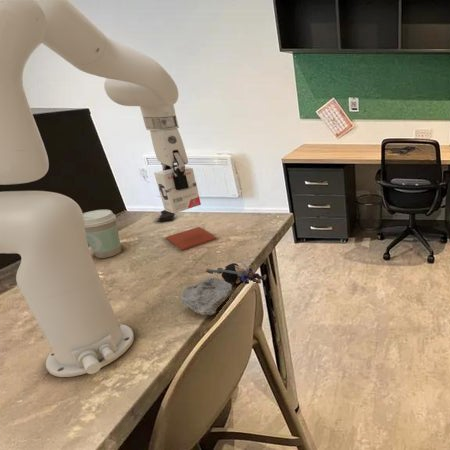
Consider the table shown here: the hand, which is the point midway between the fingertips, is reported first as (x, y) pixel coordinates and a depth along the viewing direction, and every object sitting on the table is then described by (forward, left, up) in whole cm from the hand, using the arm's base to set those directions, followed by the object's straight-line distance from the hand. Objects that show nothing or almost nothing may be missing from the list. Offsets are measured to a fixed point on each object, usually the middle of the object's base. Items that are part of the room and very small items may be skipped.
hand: (177, 186), depth 100 cm
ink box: (0, 0, -7) cm, 7 cm away
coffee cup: (+8, +19, -18) cm, 27 cm away
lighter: (+22, -4, -16) cm, 27 cm away
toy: (-40, -1, -14) cm, 43 cm away
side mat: (0, 0, -17) cm, 17 cm away
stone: (-34, +9, -14) cm, 38 cm away
